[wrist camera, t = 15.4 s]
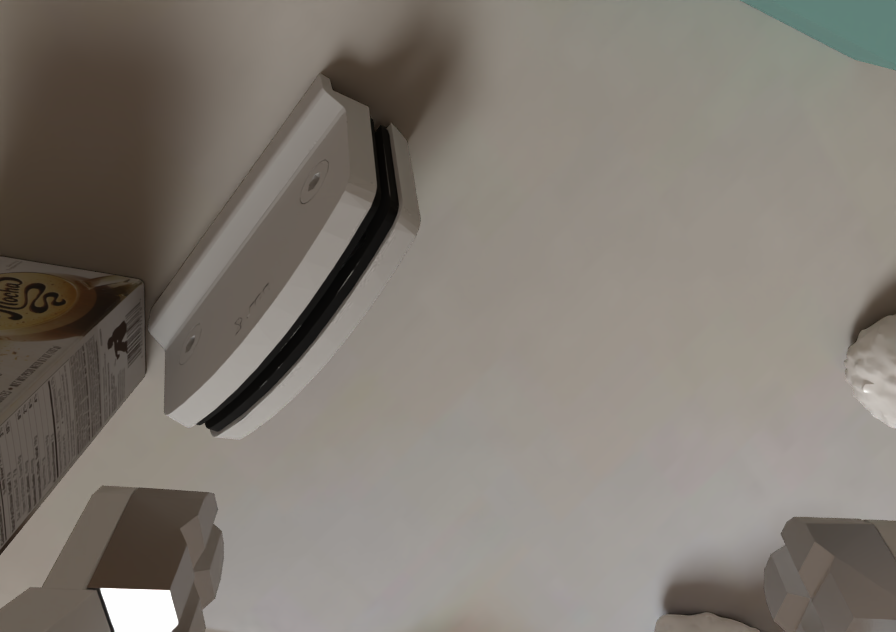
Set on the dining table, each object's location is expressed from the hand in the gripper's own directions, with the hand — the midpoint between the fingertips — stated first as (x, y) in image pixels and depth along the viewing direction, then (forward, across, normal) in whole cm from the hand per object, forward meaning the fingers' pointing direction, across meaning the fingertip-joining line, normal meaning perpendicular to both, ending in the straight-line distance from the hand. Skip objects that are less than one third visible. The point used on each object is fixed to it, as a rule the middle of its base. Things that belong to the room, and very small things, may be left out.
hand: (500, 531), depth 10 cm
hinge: (+26, +8, +10) cm, 29 cm away
